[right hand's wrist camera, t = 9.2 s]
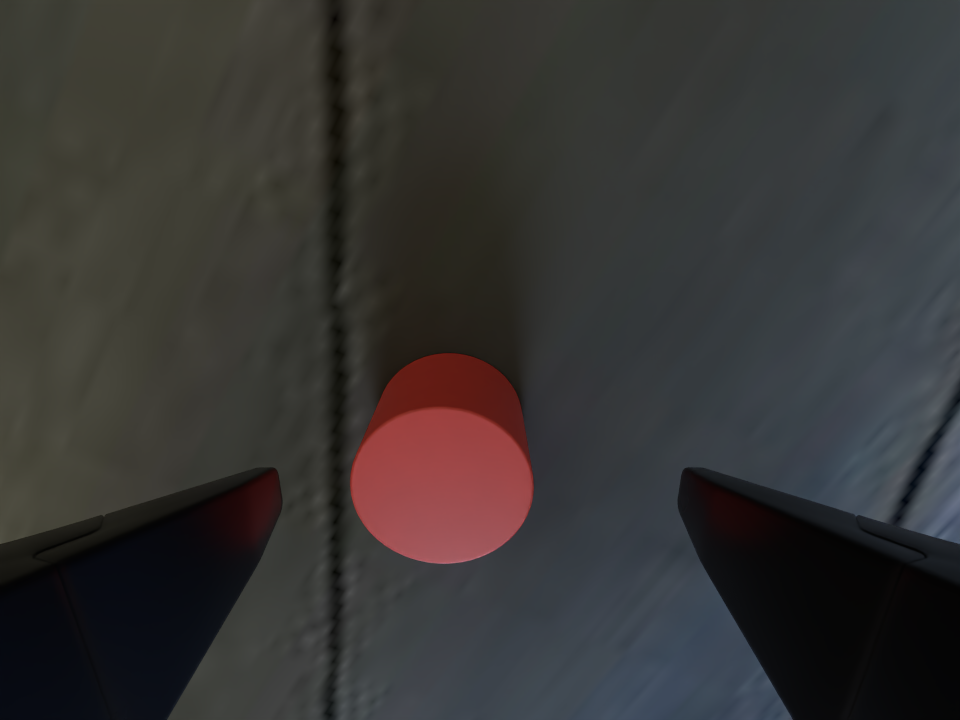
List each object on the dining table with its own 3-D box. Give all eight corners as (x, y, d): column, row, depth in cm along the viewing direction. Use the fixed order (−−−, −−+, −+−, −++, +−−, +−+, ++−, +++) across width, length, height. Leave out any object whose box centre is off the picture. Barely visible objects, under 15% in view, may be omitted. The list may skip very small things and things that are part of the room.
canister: (348, 401, 18) (311, 468, 14) (469, 324, 17) (466, 371, 13) (432, 504, 20) (421, 591, 16) (549, 438, 19) (568, 512, 15)
